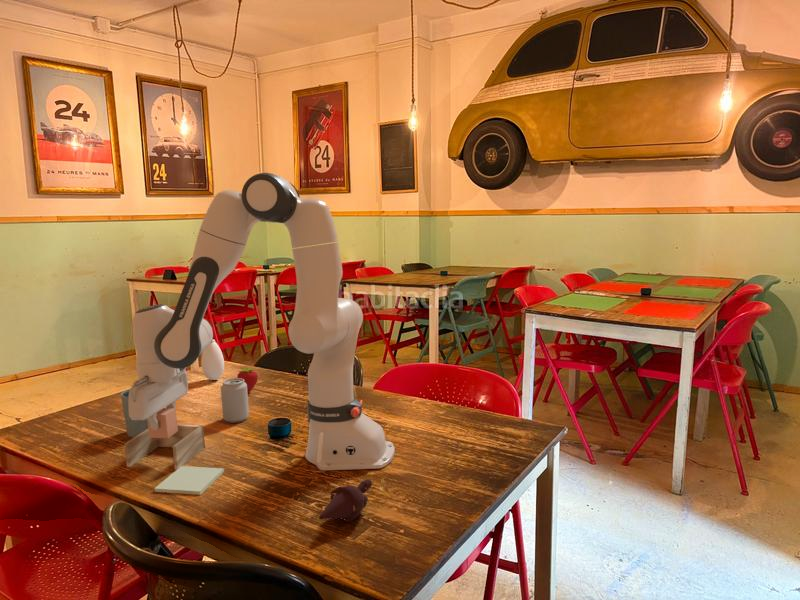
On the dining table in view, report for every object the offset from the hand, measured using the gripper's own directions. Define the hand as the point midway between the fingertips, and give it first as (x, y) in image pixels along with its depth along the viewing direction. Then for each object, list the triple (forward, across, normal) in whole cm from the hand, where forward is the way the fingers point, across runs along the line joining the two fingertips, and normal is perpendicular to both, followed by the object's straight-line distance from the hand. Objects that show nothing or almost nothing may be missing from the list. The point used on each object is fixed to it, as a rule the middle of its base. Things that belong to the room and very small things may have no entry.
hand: (162, 424), depth 139 cm
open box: (+9, +2, +1) cm, 9 cm away
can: (+9, +28, -6) cm, 30 cm away
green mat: (+9, -10, -12) cm, 19 cm away
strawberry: (+9, +52, +1) cm, 53 cm away
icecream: (+10, -21, -52) cm, 57 cm away
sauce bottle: (+9, +64, +20) cm, 68 cm away
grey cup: (+9, +16, +16) cm, 25 cm away
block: (+3, 0, 0) cm, 3 cm away
